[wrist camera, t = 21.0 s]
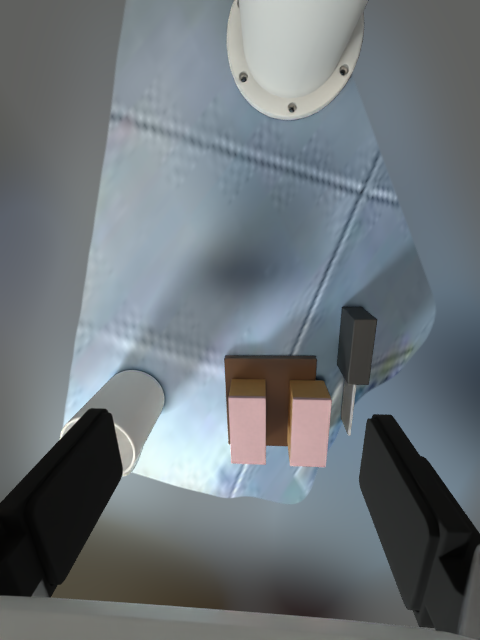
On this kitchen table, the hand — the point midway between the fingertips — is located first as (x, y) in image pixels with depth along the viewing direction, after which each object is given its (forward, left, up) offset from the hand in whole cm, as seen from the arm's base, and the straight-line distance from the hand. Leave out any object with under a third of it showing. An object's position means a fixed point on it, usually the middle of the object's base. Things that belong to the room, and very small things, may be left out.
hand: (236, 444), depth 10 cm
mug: (+17, -17, -26) cm, 36 cm away
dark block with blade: (+10, +12, -26) cm, 31 cm away
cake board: (+16, +2, -26) cm, 31 cm away
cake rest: (+17, -1, -25) cm, 30 cm away
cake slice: (+17, +7, -25) cm, 31 cm away
